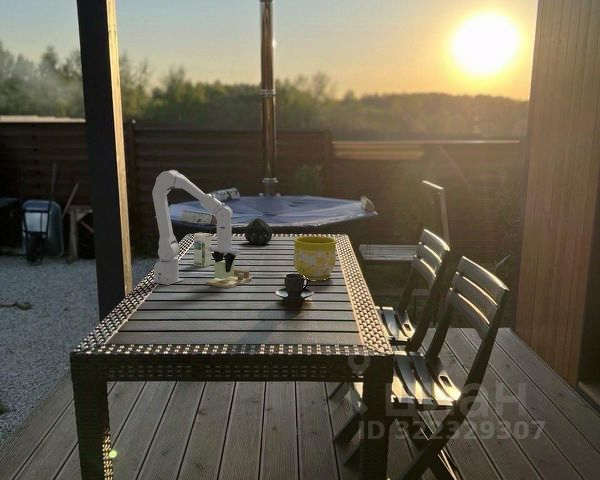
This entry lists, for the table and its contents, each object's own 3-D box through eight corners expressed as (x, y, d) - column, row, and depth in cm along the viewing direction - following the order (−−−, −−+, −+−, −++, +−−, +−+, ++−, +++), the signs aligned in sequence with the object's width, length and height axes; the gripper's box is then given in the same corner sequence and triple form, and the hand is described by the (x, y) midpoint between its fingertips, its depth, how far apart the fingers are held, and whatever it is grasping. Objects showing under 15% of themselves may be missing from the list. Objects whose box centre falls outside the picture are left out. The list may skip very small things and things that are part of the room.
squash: (264, 230, 331) (250, 211, 322) (281, 235, 321) (268, 216, 312) (248, 248, 326) (234, 230, 317) (265, 254, 315) (251, 235, 306)
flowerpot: (327, 285, 236) (329, 245, 234) (286, 280, 242) (287, 241, 240) (340, 275, 253) (342, 238, 250) (301, 271, 259) (302, 234, 256)
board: (228, 288, 227) (228, 279, 227) (205, 284, 233) (205, 275, 232) (251, 280, 241) (252, 271, 240) (230, 276, 246) (230, 267, 246)
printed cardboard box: (193, 265, 264) (193, 233, 261) (201, 263, 269) (201, 232, 266) (203, 267, 261) (203, 235, 259) (211, 264, 266) (211, 233, 264)
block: (221, 279, 229) (221, 264, 228) (214, 277, 231) (214, 262, 230) (234, 275, 236) (234, 260, 235) (227, 274, 238) (227, 259, 237)
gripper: (245, 238, 230) (244, 271, 233) (215, 234, 237) (215, 266, 240) (234, 240, 224) (234, 275, 227) (204, 236, 231) (204, 270, 234)
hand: (224, 271), depth 233 cm, fingers closed on block, 3 cm apart
